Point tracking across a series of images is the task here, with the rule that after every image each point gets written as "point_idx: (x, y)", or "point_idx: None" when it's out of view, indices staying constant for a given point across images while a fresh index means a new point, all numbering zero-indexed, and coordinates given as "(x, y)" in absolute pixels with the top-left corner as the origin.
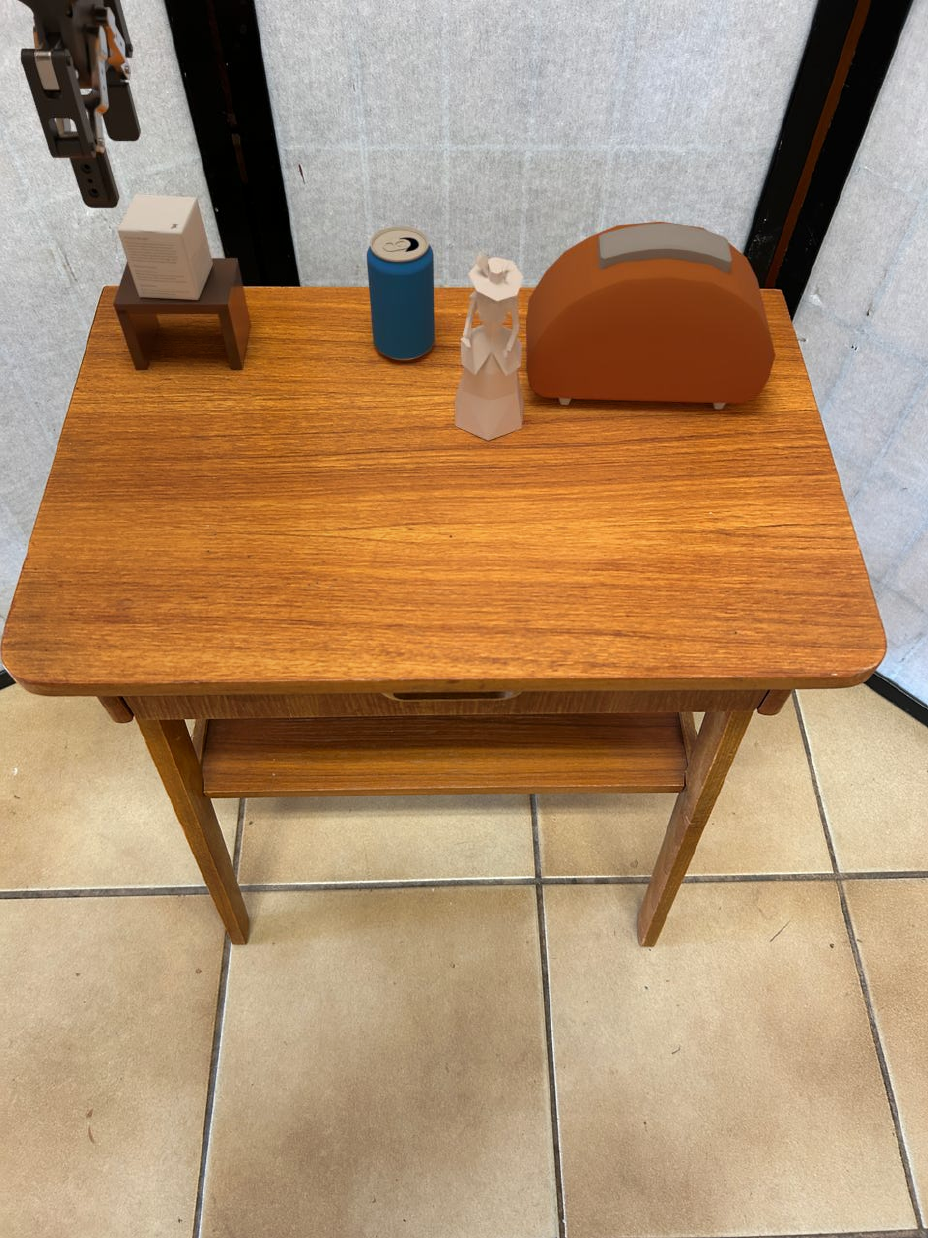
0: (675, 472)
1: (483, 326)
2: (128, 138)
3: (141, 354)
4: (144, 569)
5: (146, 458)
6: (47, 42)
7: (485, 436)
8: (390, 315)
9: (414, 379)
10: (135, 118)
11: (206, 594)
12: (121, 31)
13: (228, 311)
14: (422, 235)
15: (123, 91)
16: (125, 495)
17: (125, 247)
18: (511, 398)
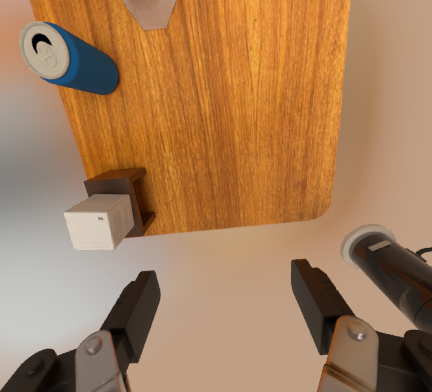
0: None
1: None
2: (155, 280)
3: (152, 215)
4: (277, 181)
5: (212, 197)
6: None
7: (174, 1)
8: (101, 71)
9: (130, 63)
10: (142, 287)
11: (292, 151)
12: None
13: (130, 176)
14: (25, 30)
15: (130, 325)
16: (235, 200)
17: (120, 241)
18: None
